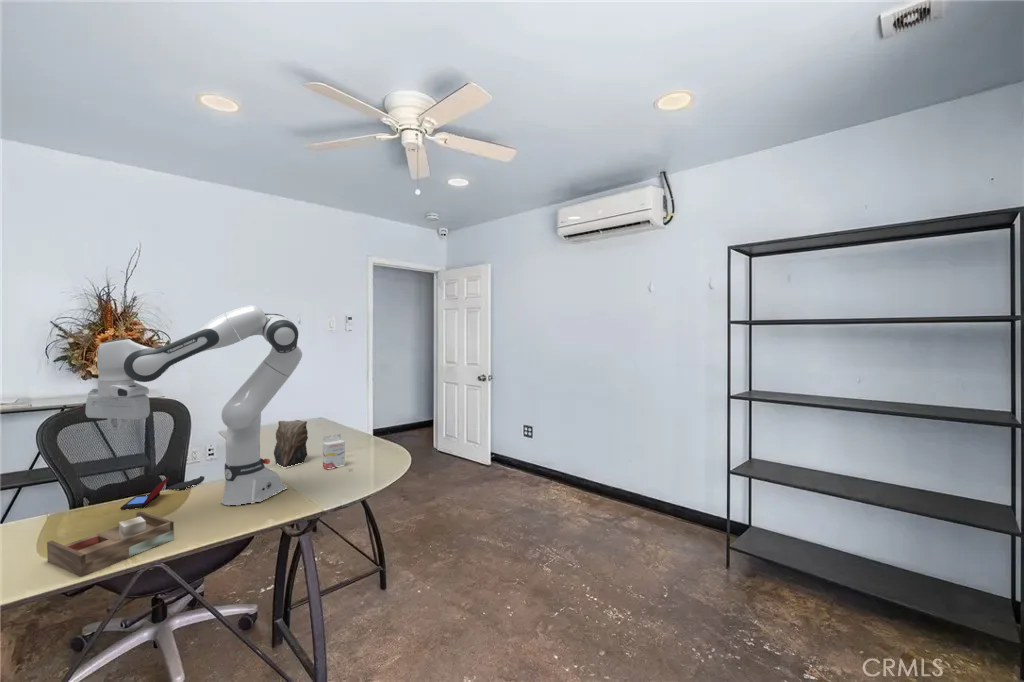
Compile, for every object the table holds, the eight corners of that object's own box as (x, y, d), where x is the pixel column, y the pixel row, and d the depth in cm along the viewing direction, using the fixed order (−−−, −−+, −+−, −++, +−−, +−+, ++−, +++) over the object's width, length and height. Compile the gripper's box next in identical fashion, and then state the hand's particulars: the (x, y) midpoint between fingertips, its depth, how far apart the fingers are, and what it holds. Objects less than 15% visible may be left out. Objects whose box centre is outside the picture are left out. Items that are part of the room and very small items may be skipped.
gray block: (140, 532, 134) (140, 516, 134) (146, 537, 131) (145, 520, 131) (119, 539, 130) (118, 522, 130) (124, 544, 127) (123, 527, 127)
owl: (272, 463, 210) (272, 421, 210) (300, 457, 220) (299, 417, 219) (283, 469, 202) (282, 425, 201) (311, 462, 211) (310, 421, 210)
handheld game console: (137, 498, 169) (136, 478, 169) (170, 495, 172) (170, 476, 172) (118, 511, 157) (117, 490, 157) (154, 507, 160) (154, 487, 160)
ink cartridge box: (326, 470, 201) (326, 438, 200) (322, 467, 204) (322, 435, 204) (345, 466, 206) (344, 434, 206) (341, 463, 210) (340, 432, 210)
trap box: (140, 528, 143) (140, 511, 143) (174, 539, 136) (173, 521, 136) (47, 561, 123) (47, 542, 123) (81, 576, 116) (80, 556, 116)
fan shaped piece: (213, 480, 188) (213, 476, 188) (182, 492, 175) (182, 488, 175) (197, 478, 190) (197, 475, 190) (165, 490, 177) (165, 486, 177)
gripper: (78, 389, 141) (79, 433, 141) (134, 391, 138) (135, 435, 139) (99, 387, 147) (100, 428, 148) (153, 388, 144) (154, 430, 145)
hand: (117, 432), depth 143 cm, fingers closed
